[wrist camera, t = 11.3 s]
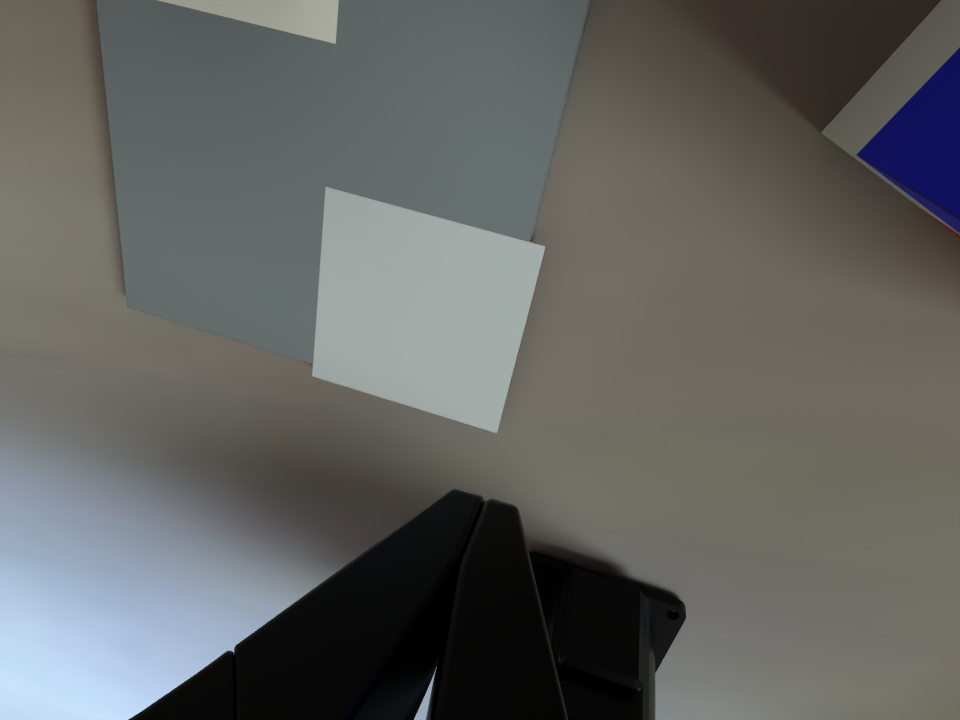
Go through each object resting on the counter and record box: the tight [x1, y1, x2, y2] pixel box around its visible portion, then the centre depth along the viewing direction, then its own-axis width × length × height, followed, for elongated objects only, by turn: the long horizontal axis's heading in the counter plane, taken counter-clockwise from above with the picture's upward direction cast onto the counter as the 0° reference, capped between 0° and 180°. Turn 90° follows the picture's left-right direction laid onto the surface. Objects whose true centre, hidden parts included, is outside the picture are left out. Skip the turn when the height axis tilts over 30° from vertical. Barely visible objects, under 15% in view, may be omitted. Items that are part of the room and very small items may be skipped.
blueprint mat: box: [96, 0, 591, 433], centre depth 18 cm, size 18×14×1 cm
